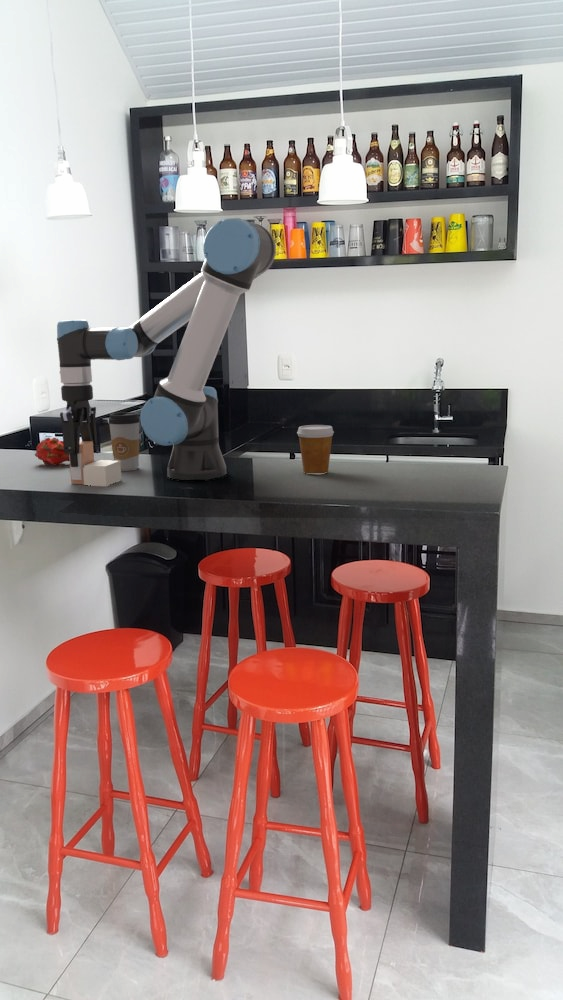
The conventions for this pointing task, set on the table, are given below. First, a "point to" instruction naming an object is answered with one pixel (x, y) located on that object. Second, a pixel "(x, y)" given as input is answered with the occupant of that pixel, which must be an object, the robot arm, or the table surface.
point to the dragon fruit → (51, 452)
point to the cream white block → (102, 472)
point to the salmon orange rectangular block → (84, 457)
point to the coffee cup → (125, 439)
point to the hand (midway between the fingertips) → (83, 477)
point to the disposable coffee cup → (315, 447)
